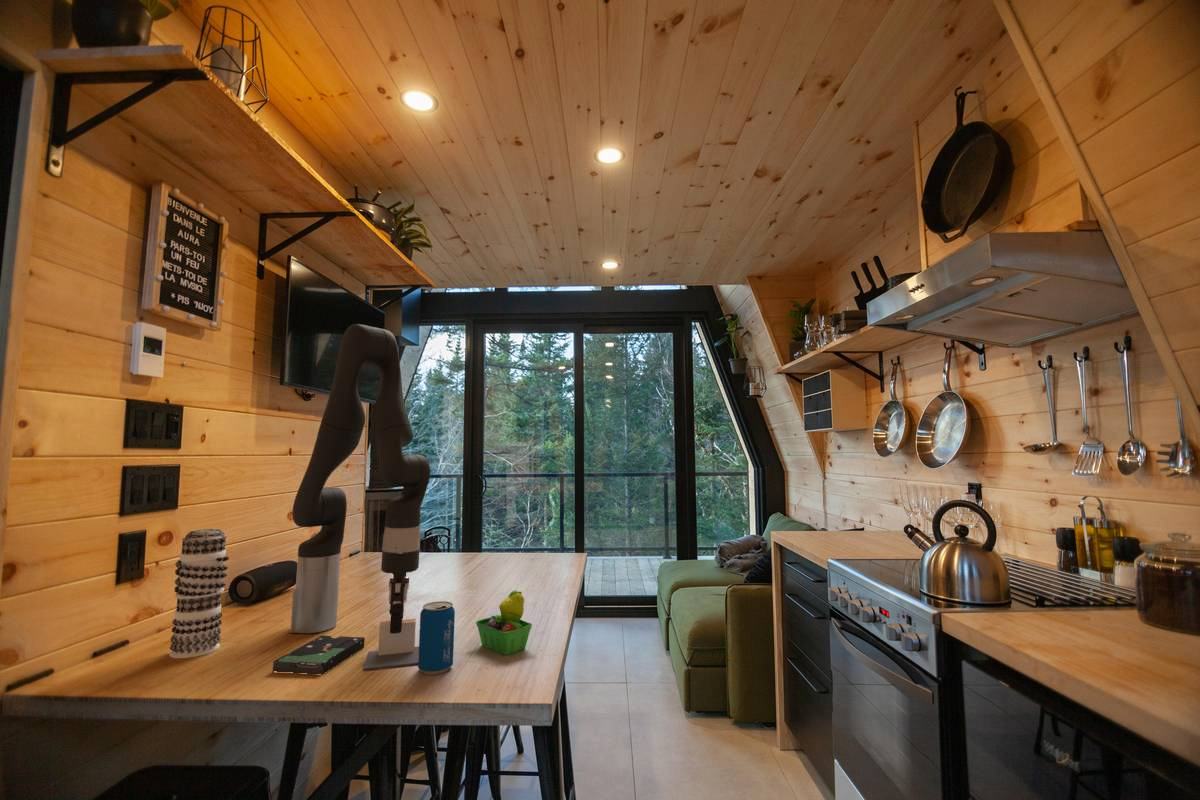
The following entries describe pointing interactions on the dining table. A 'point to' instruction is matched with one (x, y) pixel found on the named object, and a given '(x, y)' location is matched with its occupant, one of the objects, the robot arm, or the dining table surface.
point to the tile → (397, 638)
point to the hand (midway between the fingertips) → (396, 626)
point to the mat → (391, 659)
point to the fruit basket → (506, 626)
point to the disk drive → (319, 655)
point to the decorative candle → (199, 594)
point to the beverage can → (436, 637)
